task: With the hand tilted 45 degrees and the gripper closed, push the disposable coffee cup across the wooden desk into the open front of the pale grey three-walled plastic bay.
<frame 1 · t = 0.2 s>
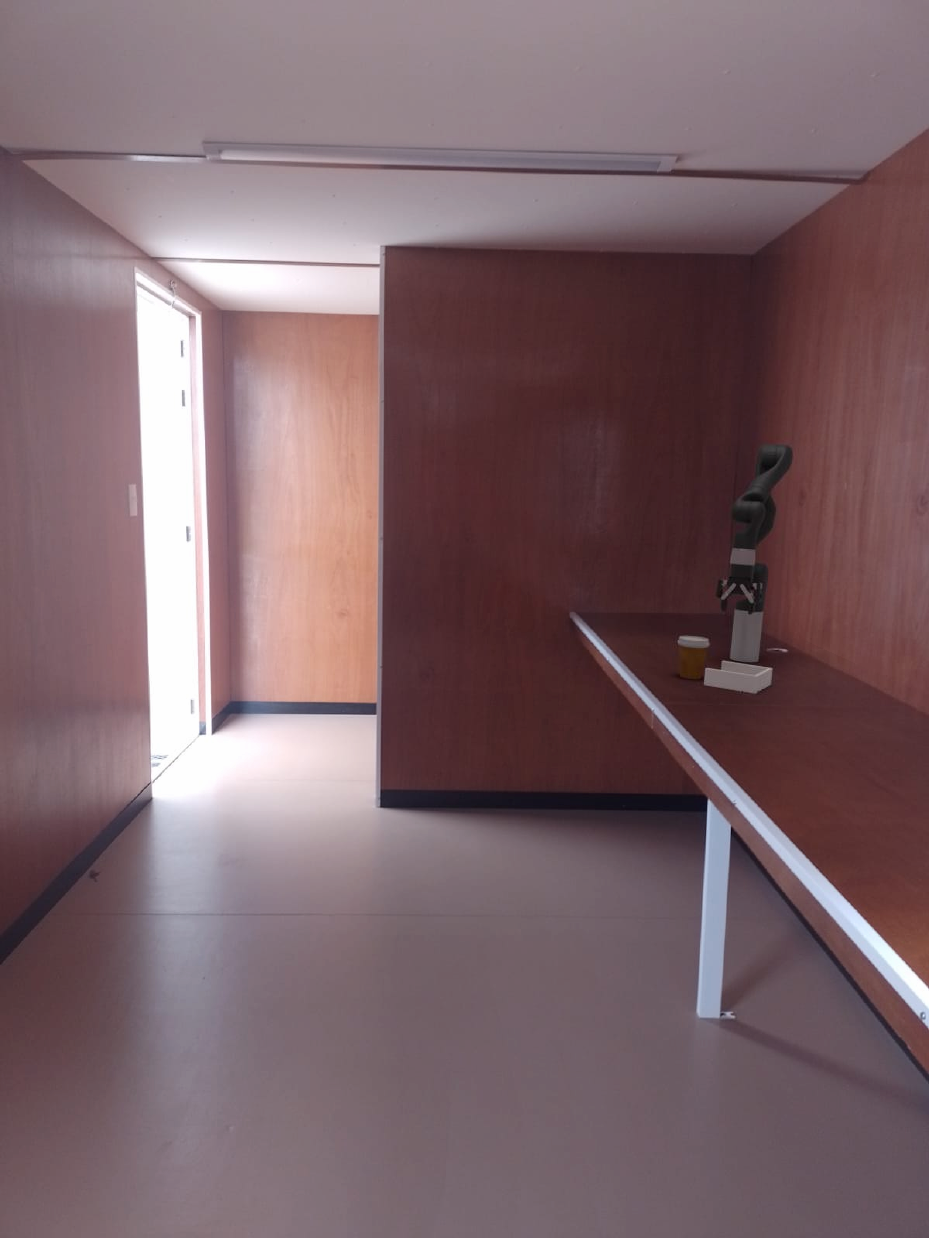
hand: (736, 613, 290), 18 cm above the table, tool pointing down, fingers open, 8 cm apart
grey bay: (737, 684, 265), on the table
disposable coffee cup: (690, 677, 273), on the table
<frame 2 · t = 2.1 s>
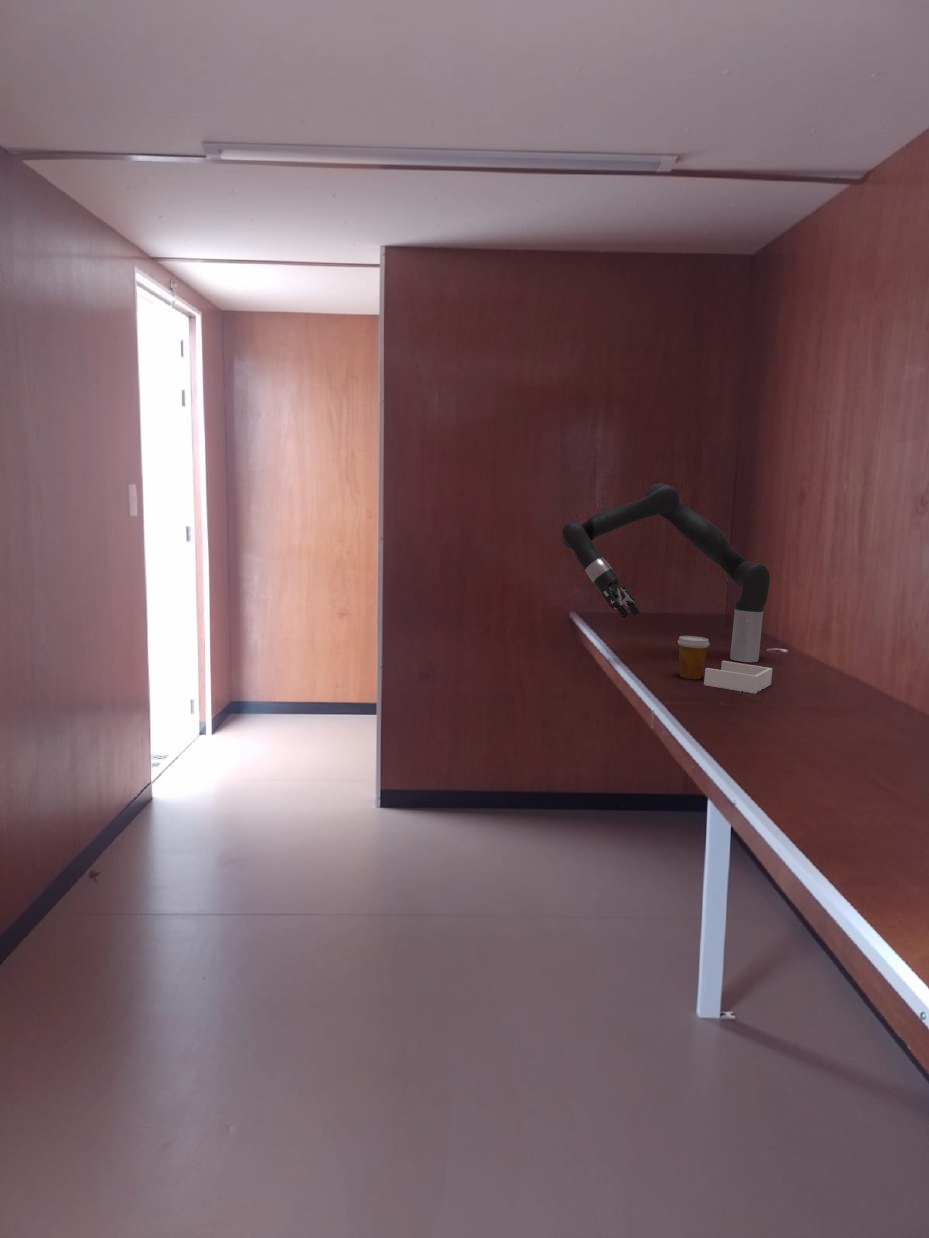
hand: (632, 615, 281), 16 cm above the table, tool tilted 45°, fingers open, 8 cm apart
nothing on the table moved.
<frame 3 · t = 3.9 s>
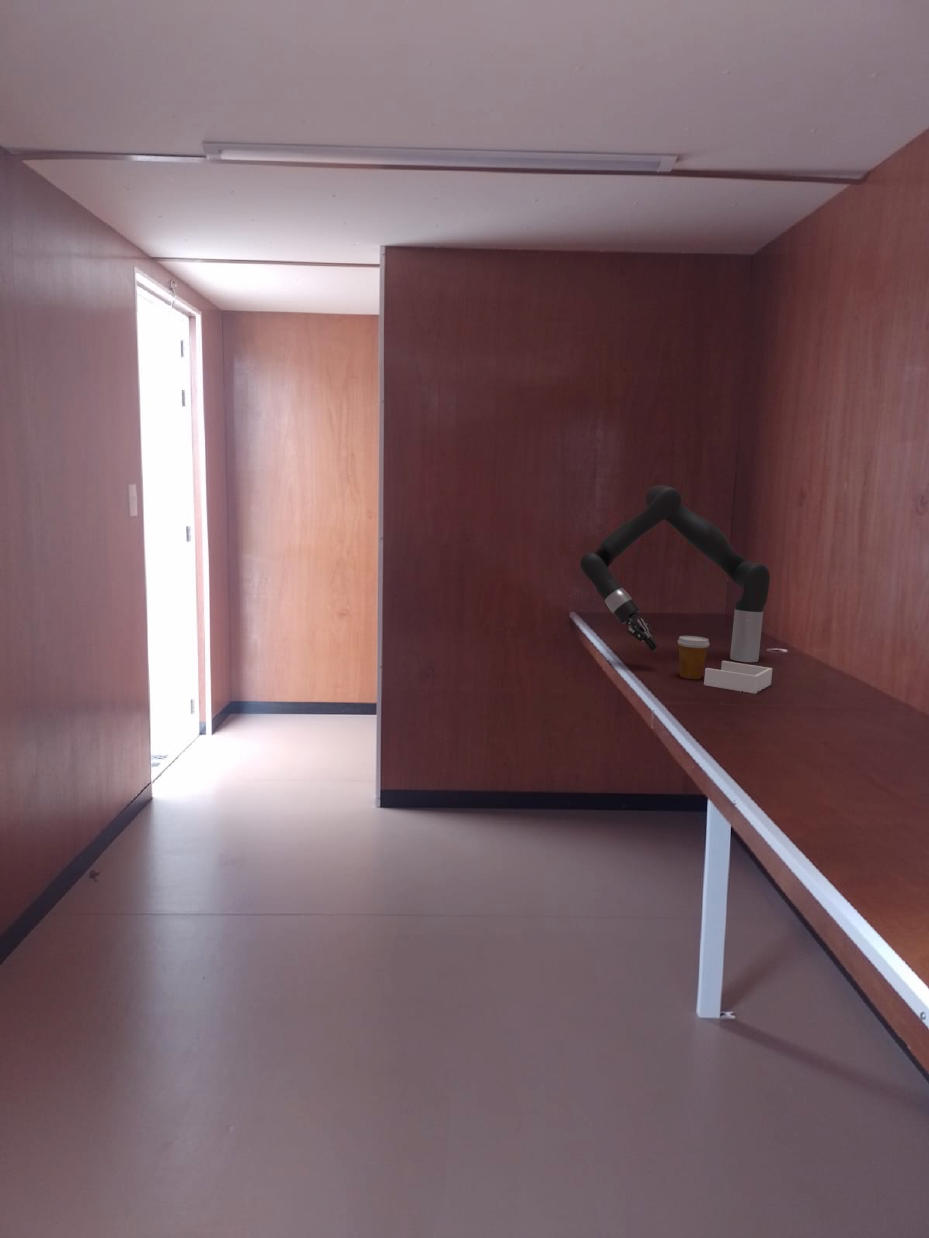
hand: (655, 649, 278), 7 cm above the table, tool tilted 45°, fingers closed
nothing on the table moved.
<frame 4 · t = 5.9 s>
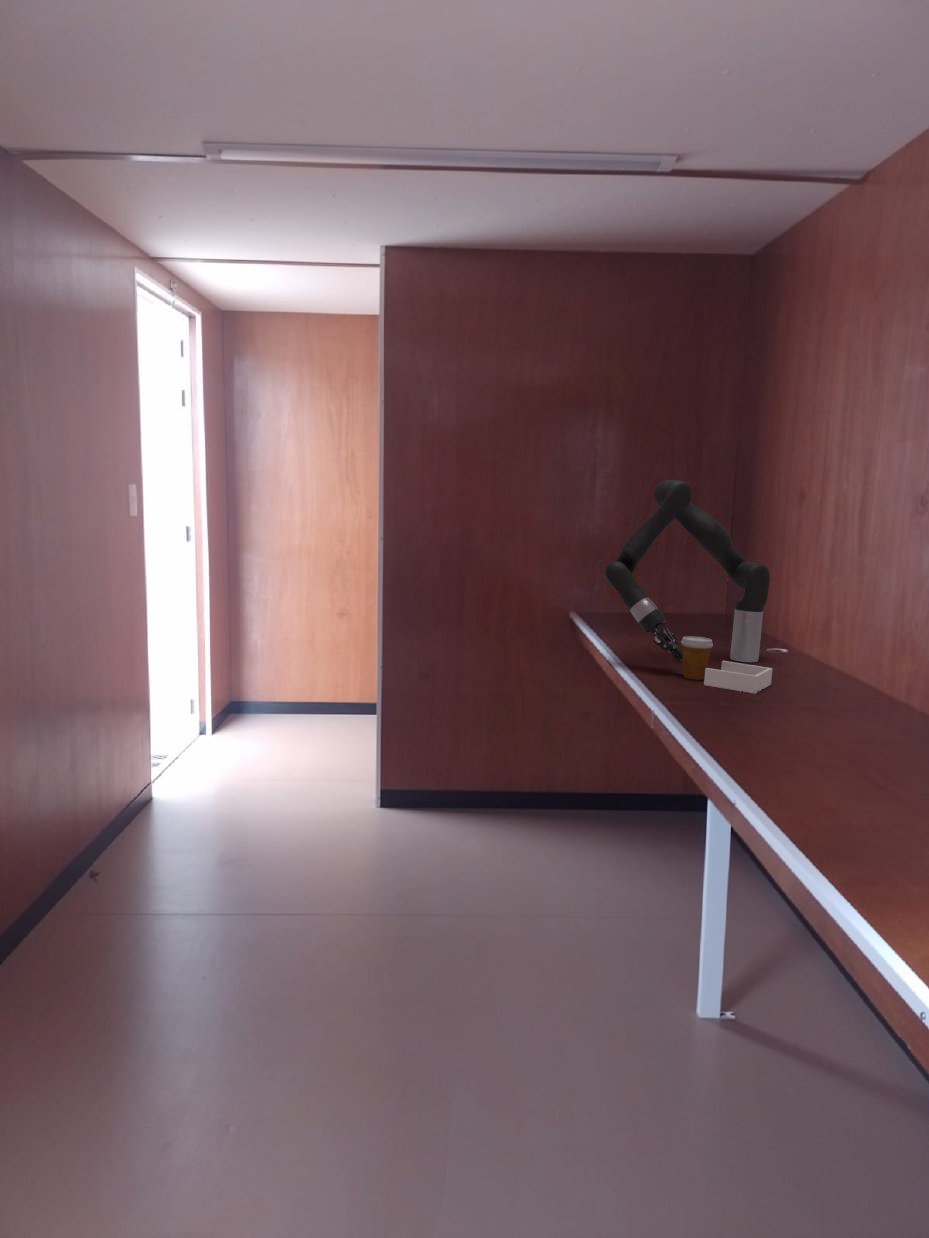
hand: (681, 659, 274), 5 cm above the table, tool tilted 45°, fingers closed
disposable coffee cup: (693, 678, 272), on the table, touching gripper
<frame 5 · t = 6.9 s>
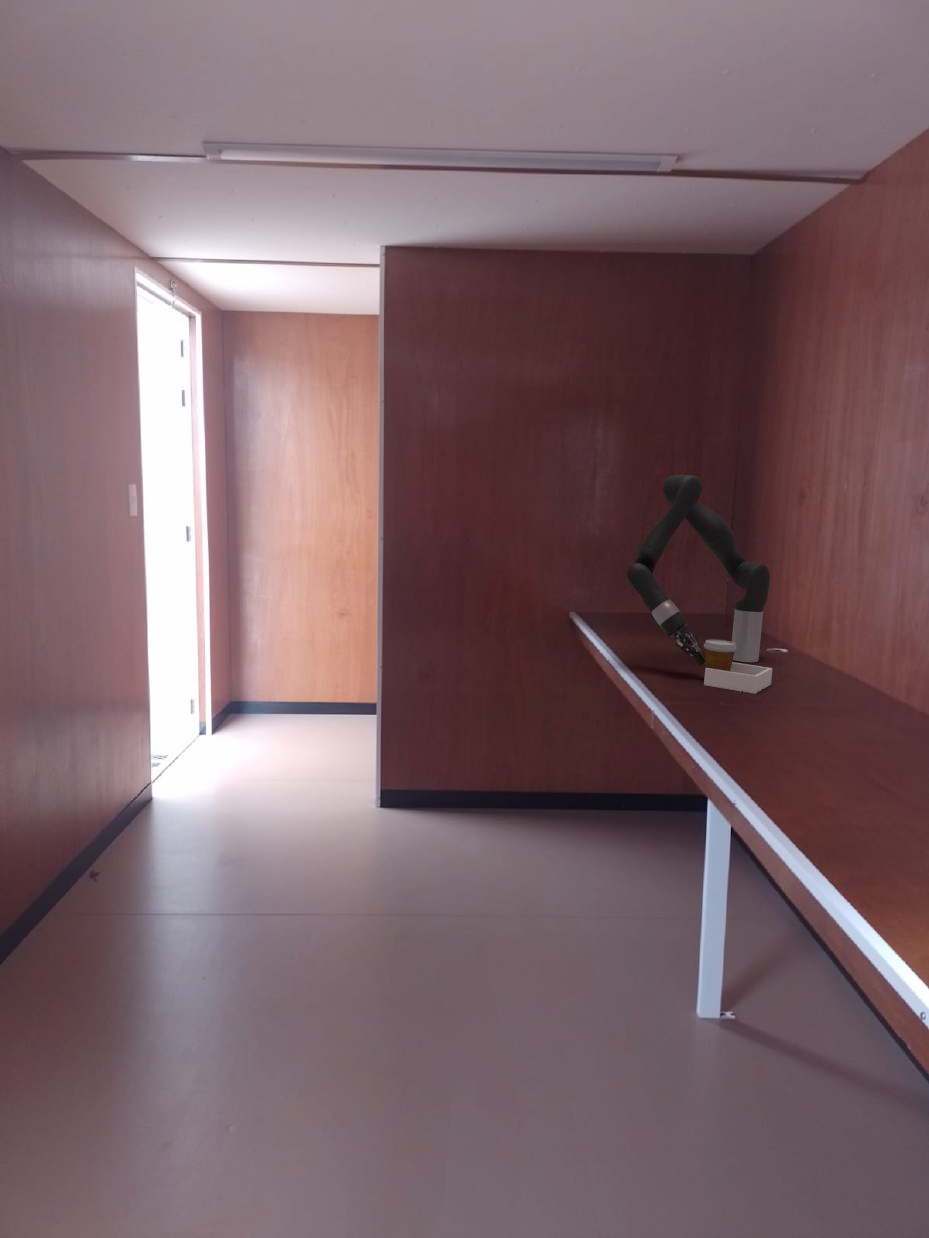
hand: (704, 663, 270), 5 cm above the table, tool tilted 45°, fingers closed
disposable coffee cup: (716, 682, 268), on the table, touching gripper
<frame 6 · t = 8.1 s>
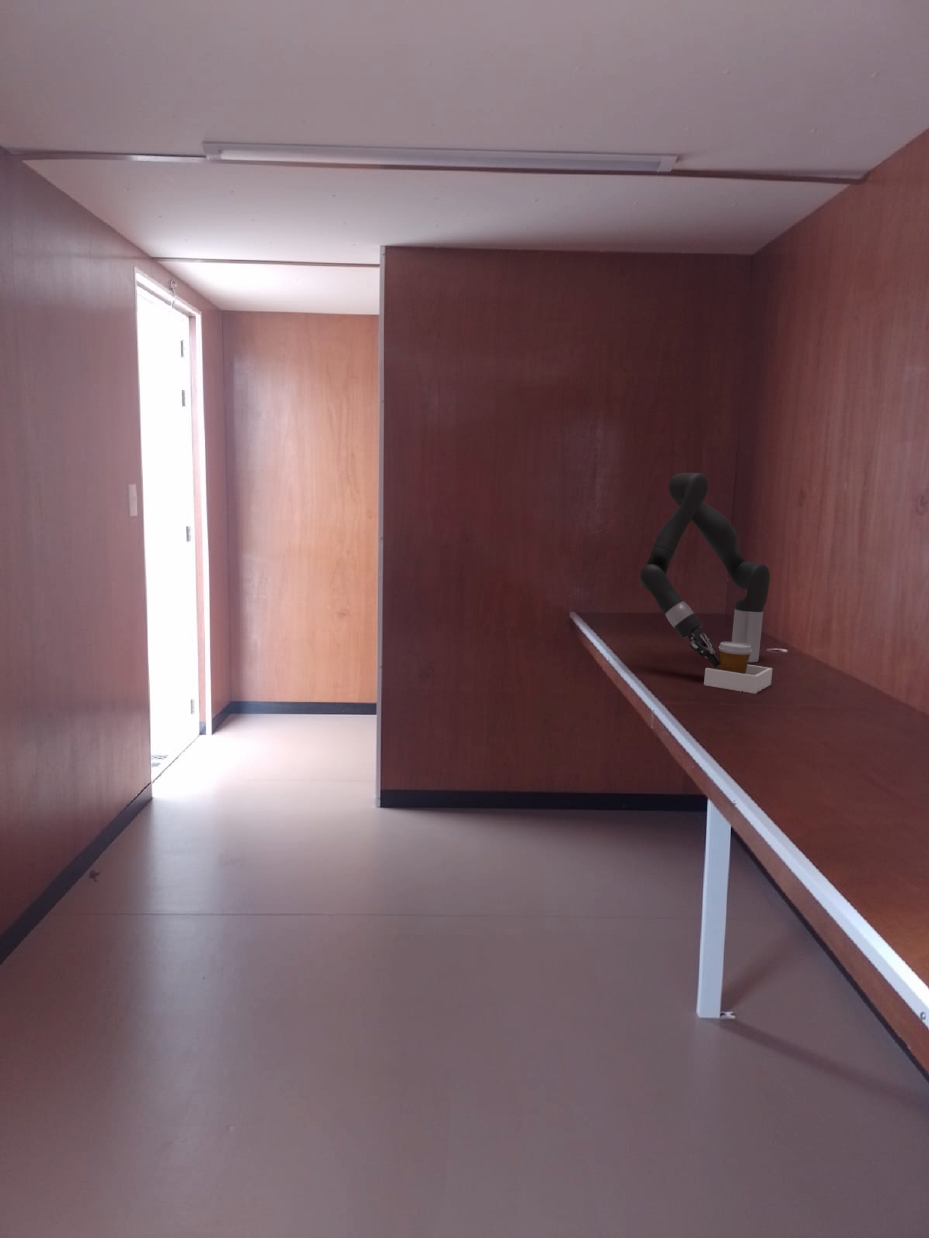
hand: (718, 665, 267), 5 cm above the table, tool tilted 45°, fingers closed
disposable coffee cup: (731, 684, 265), on the table, touching gripper
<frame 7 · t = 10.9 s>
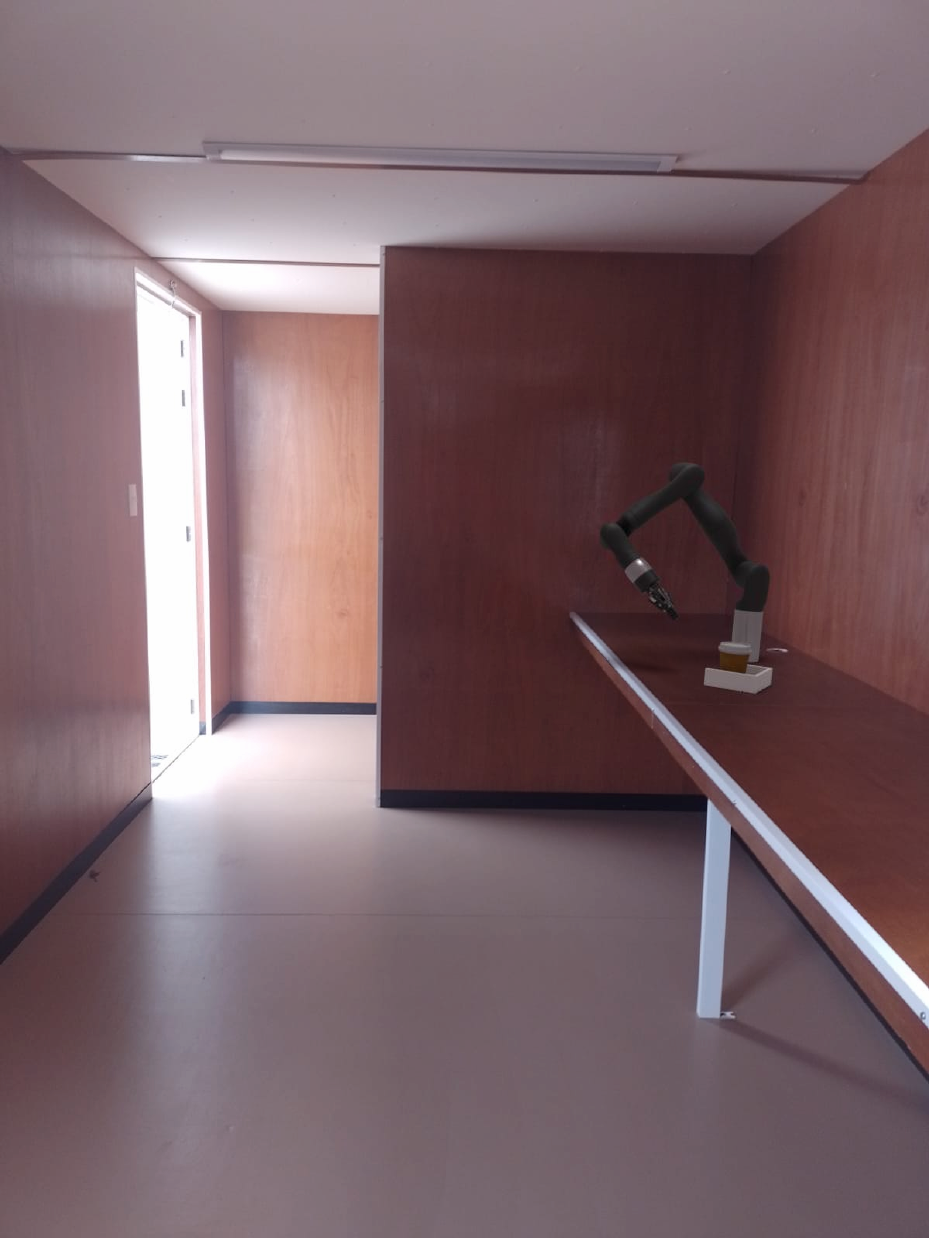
hand: (676, 618, 276), 17 cm above the table, tool tilted 45°, fingers closed
disposable coffee cup: (731, 684, 265), on the table
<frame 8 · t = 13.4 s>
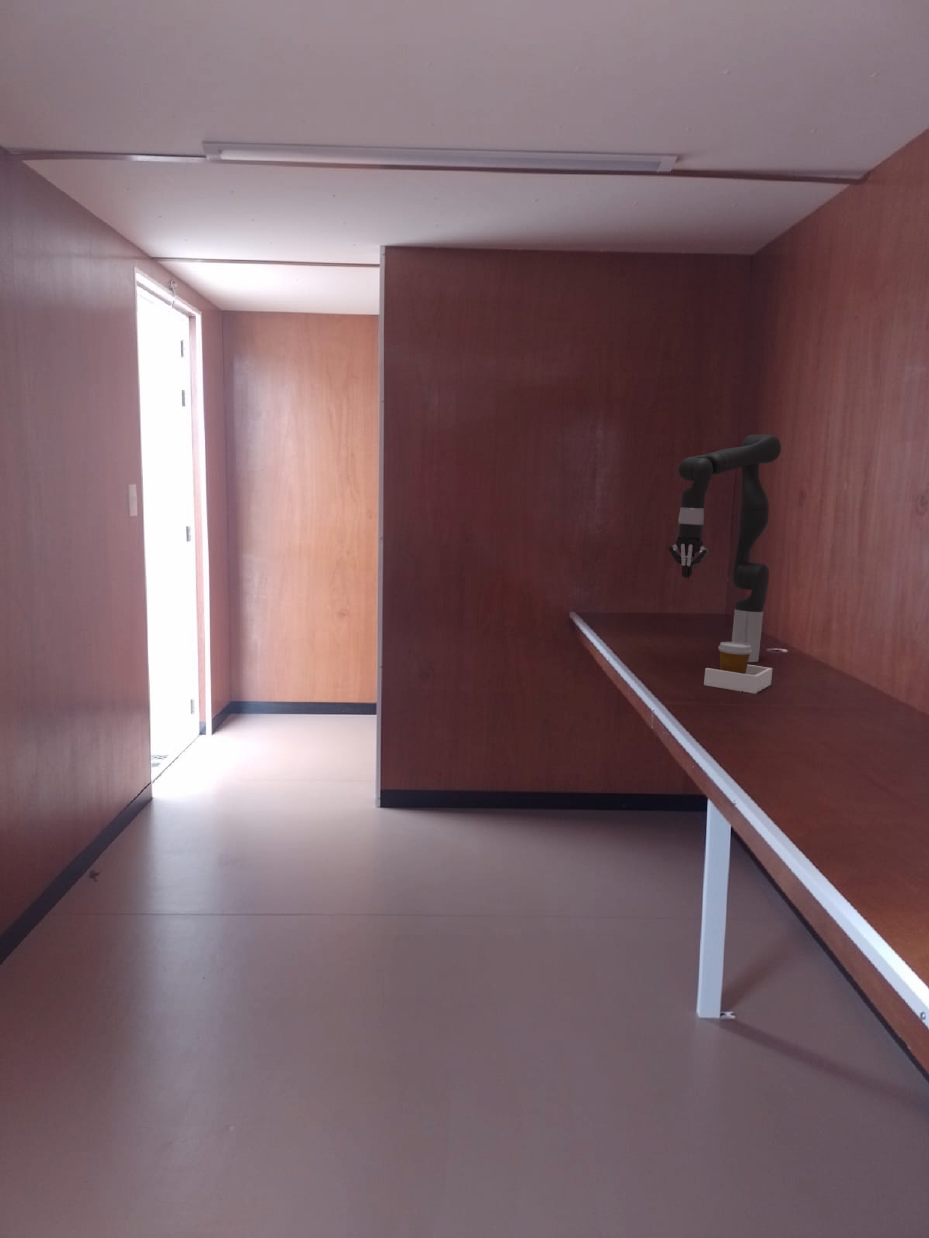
hand: (686, 577, 282), 29 cm above the table, tool pointing down, fingers closed
nothing on the table moved.
at the end: disposable coffee cup inside the target area on the grey bay (1.0 cm from its centre), point 0.0 cm above the grey bay's base; disposable coffee cup tilted 0° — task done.
